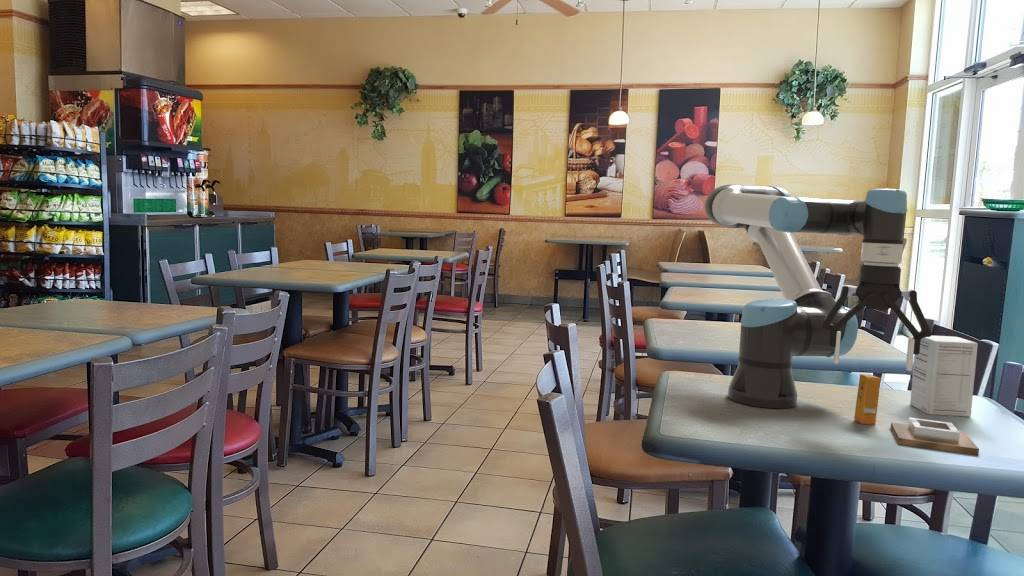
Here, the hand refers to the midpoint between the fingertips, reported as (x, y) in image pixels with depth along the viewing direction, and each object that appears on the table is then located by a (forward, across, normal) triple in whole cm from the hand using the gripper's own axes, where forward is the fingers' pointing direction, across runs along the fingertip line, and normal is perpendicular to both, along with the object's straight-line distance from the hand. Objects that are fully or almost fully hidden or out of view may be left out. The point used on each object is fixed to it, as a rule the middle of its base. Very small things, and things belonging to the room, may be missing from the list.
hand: (871, 366), depth 147 cm
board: (+12, +11, -8) cm, 18 cm away
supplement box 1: (+12, 0, 0) cm, 12 cm away
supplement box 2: (+12, +17, +21) cm, 30 cm away
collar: (+11, +11, -8) cm, 17 cm away
